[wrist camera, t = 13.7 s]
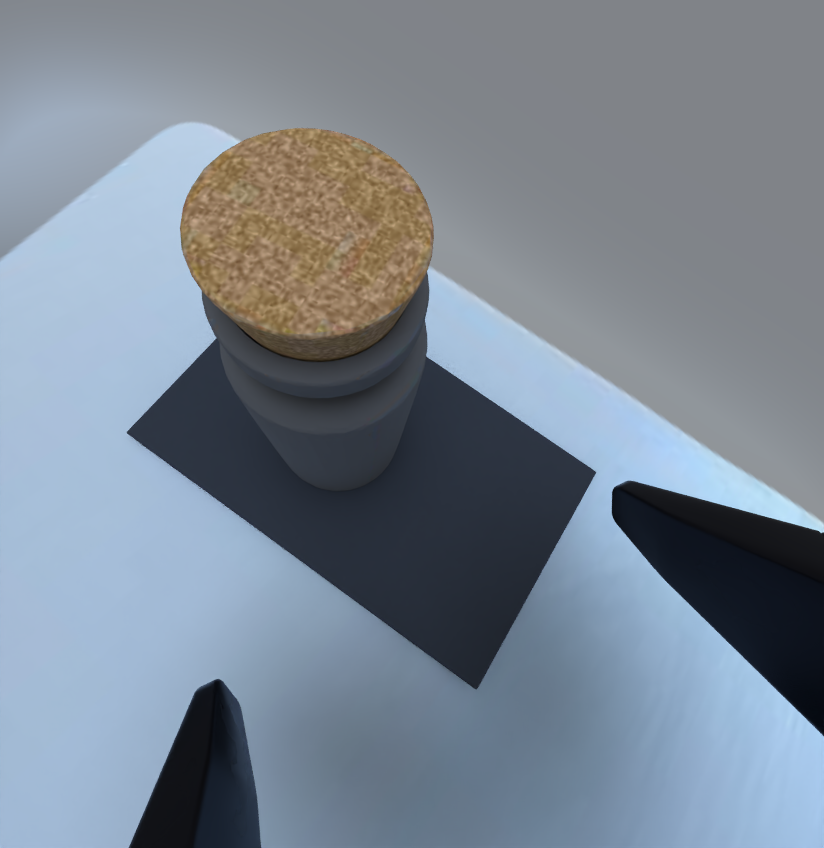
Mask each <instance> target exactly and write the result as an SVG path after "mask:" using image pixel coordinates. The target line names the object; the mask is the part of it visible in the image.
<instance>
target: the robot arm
mask: <svg viewBox="0 0 824 848" xmlns="http://www.w3.org/2000/svg"><path fill="white" fill-rule="evenodd" d="M612 516H613V518H614V520H615V522H616V523H617V525H618V526H619V527H620V528H621V530H622V531H623V532H624V533H625V534H626V535H627V537H628V538H629V539H630V540H631V541H632V543H633V544H634V545H635V546H636V547H637V549H638V550H639V551H640V552H641V553H642V555H643V556H644V557H645V558H646V559H647V560H648V562H649V563H650V564H651V565H652V566H653V568H654V569H655V570H656V571H657V572H658V573H659V574H660V575H661V576H662V578H663V579H664V580H665V581H666V582H667V583H668V584H669V585H670V586H671V587H672V588H673V589H674V590H675V591H676V592H677V593H679V594H680V595H681V596H682V597H683V598H684V599H685V600H686V601H687V602H688V603H689V604H690V605H691V606H692V607H693V608H694V609H695V610H696V611H697V612H698V613H699V614H700V615H701V616H702V617H703V618H704V619H705V620H706V621H707V622H708V623H709V624H710V625H711V626H712V627H713V628H714V629H715V630H716V631H717V632H718V633H719V634H720V635H721V636H722V637H723V638H724V639H725V640H726V641H727V642H728V643H729V644H730V645H732V646H733V647H734V648H735V649H736V650H737V651H738V652H739V653H740V654H741V655H742V656H743V657H744V658H745V659H746V660H747V661H748V662H749V663H750V664H751V665H752V666H753V667H754V668H755V669H756V670H757V671H758V672H759V673H760V674H761V675H762V676H763V677H764V678H765V679H766V680H767V681H768V682H769V683H770V684H771V685H772V686H773V687H774V688H775V689H776V690H777V691H778V692H779V693H780V694H781V695H782V696H783V697H785V698H786V699H787V700H788V701H789V702H790V703H791V704H792V705H793V706H794V707H795V708H796V709H797V710H798V711H799V712H800V713H801V714H802V715H803V716H804V717H805V718H806V719H807V720H808V721H809V722H810V723H811V724H812V725H813V726H814V727H815V728H816V729H817V730H818V731H819V732H820V733H821V734H822V735H823V736H824V533H820V532H819V531H817V530H813V529H809V528H805V527H802V526H798V525H794V524H791V523H787V522H783V521H779V520H776V519H772V518H768V517H765V516H761V515H757V514H753V513H750V512H746V511H742V510H739V509H735V508H731V507H727V506H724V505H720V504H716V503H713V502H709V501H705V500H701V499H698V498H694V497H690V496H687V495H683V494H679V493H675V492H672V491H668V490H664V489H661V488H657V487H653V486H649V485H646V484H642V483H638V482H635V481H626V482H624V483H622V484H620V485H618V486H616V487H614V489H613V491H612ZM129 848H261V842H260V828H259V814H258V803H257V795H256V788H255V782H254V777H253V771H252V766H251V760H250V755H249V749H248V744H247V738H246V733H245V727H244V722H243V716H242V711H241V707H240V705H239V702H238V701H237V699H236V698H235V696H234V695H233V694H232V693H231V691H230V690H229V689H228V688H227V686H226V685H225V684H224V682H223V681H222V680H220V679H216V680H214V681H212V682H210V683H207V684H205V685H203V686H201V687H200V688H198V689H197V690H196V692H195V693H194V696H193V698H192V700H191V703H190V705H189V707H188V710H187V712H186V714H185V717H184V719H183V721H182V724H181V726H180V729H179V731H178V733H177V736H176V738H175V740H174V743H173V745H172V747H171V750H170V752H169V754H168V757H167V759H166V762H165V764H164V766H163V769H162V771H161V773H160V776H159V778H158V780H157V783H156V785H155V787H154V790H153V792H152V795H151V797H150V799H149V802H148V804H147V806H146V809H145V811H144V813H143V816H142V818H141V820H140V823H139V825H138V827H137V830H136V832H135V835H134V837H133V839H132V842H131V844H130V846H129Z"/></svg>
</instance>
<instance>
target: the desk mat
mask: <svg viewBox="0 0 824 848" xmlns="http://www.w3.org/2000/svg"><path fill="white" fill-rule="evenodd" d="M127 434H129V435H130V436H132V437H133V438H134V439H136V440H137V441H138V442H140V443H141V444H142V445H144V446H145V447H146V448H148V449H149V450H151V451H152V452H153V453H155V454H156V455H157V456H159V457H160V458H161V459H163V460H164V461H166V462H167V463H168V464H170V465H171V466H172V467H174V468H175V469H176V470H178V471H179V472H181V473H182V474H183V475H185V476H186V477H187V478H189V479H190V480H191V481H193V482H194V483H196V484H197V485H198V486H200V487H201V488H202V489H204V490H205V491H206V492H208V493H209V494H211V495H212V496H213V497H215V498H216V499H217V500H219V501H220V502H221V503H223V504H224V505H226V506H227V507H228V508H230V509H231V510H232V511H234V512H235V513H236V514H238V515H239V516H240V517H242V518H243V519H245V520H246V521H247V522H249V523H250V524H251V525H253V526H254V527H255V528H257V529H258V530H260V531H261V532H262V533H264V534H265V535H266V536H268V537H269V538H270V539H272V540H273V541H275V542H276V543H277V544H279V545H280V546H281V547H283V548H284V549H285V550H287V551H288V552H290V553H291V554H292V555H294V556H295V557H296V558H298V559H299V560H300V561H302V562H303V563H305V564H306V565H307V566H309V567H310V568H311V569H313V570H314V571H315V572H317V573H318V574H320V575H321V576H322V577H324V578H325V579H326V580H328V581H329V582H330V583H332V584H333V585H334V586H336V587H337V588H339V589H340V590H341V591H343V592H344V593H345V594H347V595H348V596H349V597H351V598H352V599H354V600H355V601H356V602H358V603H359V604H360V605H362V606H363V607H364V608H366V609H367V610H369V611H370V612H371V613H373V614H374V615H375V616H377V617H378V618H379V619H381V620H382V621H384V622H385V623H386V624H388V625H389V626H390V627H392V628H393V629H394V630H396V631H397V632H399V633H400V634H401V635H403V636H404V637H405V638H407V639H408V640H409V641H411V642H412V643H414V644H415V645H416V646H418V647H419V648H420V649H422V650H423V651H424V652H426V653H427V654H428V655H430V656H431V657H433V658H434V659H435V660H437V661H438V662H439V663H441V664H442V665H443V666H445V667H446V668H448V669H449V670H450V671H452V672H453V673H454V674H456V675H457V676H458V677H460V678H461V679H463V680H464V681H465V682H467V683H468V684H469V685H471V686H472V687H473V688H475V689H477V688H478V686H479V684H480V683H481V681H482V679H483V677H484V675H485V674H486V672H487V670H488V668H489V666H490V664H491V663H492V661H493V659H494V657H495V655H496V654H497V652H498V650H499V648H500V646H501V644H502V643H503V641H504V639H505V637H506V635H507V634H508V632H509V630H510V628H511V626H512V624H513V623H514V621H515V619H516V617H517V615H518V614H519V612H520V610H521V608H522V606H523V604H524V603H525V601H526V599H527V597H528V595H529V594H530V592H531V590H532V588H533V586H534V584H535V583H536V581H537V579H538V577H539V575H540V574H541V572H542V570H543V568H544V566H545V564H546V563H547V561H548V559H549V557H550V555H551V554H552V552H553V550H554V548H555V546H556V544H557V543H558V541H559V539H560V537H561V535H562V534H563V532H564V530H565V528H566V526H567V524H568V523H569V521H570V519H571V517H572V515H573V514H574V512H575V510H576V508H577V506H578V504H579V503H580V501H581V499H582V497H583V495H584V494H585V492H586V490H587V488H588V486H589V484H590V483H591V481H592V479H593V477H594V475H595V474H596V471H594V470H593V469H591V468H590V467H588V466H587V465H585V464H584V463H582V462H581V461H579V460H578V459H576V458H575V457H573V456H572V455H570V454H569V453H567V452H566V451H565V450H563V449H562V448H560V447H559V446H557V445H556V444H554V443H553V442H551V441H550V440H548V439H547V438H545V437H544V436H542V435H541V434H539V433H538V432H537V431H535V430H534V429H532V428H531V427H529V426H528V425H526V424H525V423H523V422H522V421H520V420H519V419H517V418H516V417H514V416H513V415H511V414H510V413H509V412H507V411H506V410H504V409H503V408H501V407H500V406H498V405H497V404H495V403H494V402H492V401H491V400H489V399H488V398H486V397H485V396H483V395H482V394H481V393H479V392H478V391H476V390H475V389H473V388H472V387H470V386H469V385H467V384H466V383H464V382H463V381H461V380H460V379H458V378H457V377H455V376H454V375H453V374H451V373H450V372H448V371H447V370H445V369H444V368H442V367H441V366H439V365H438V364H436V363H435V362H433V361H432V360H430V359H429V358H427V357H426V359H425V366H424V370H423V373H422V376H421V380H420V383H419V386H418V389H417V393H416V396H415V398H414V401H413V404H412V407H411V410H410V413H409V415H408V418H407V421H406V424H405V427H404V430H403V433H402V435H401V438H400V441H399V444H398V446H397V449H396V451H395V454H394V456H393V458H392V460H391V462H390V463H389V465H388V466H387V467H386V468H385V470H384V471H383V472H382V473H381V474H380V475H379V476H378V477H377V478H376V479H374V480H373V481H371V482H369V483H368V484H366V485H364V486H361V487H359V488H356V489H352V490H345V491H331V490H324V489H321V488H317V487H315V486H313V485H311V484H309V483H307V482H305V481H304V480H302V479H301V478H300V477H299V476H298V475H297V474H295V473H294V472H293V471H292V469H291V468H290V467H289V466H288V464H287V463H286V462H285V461H284V459H283V458H282V457H281V456H280V454H279V453H278V452H277V450H276V449H275V447H274V446H273V445H272V443H271V442H270V441H269V439H268V438H267V437H266V435H265V434H264V432H263V431H262V430H261V428H260V427H259V426H258V424H257V423H256V421H255V420H254V419H253V417H252V416H251V414H250V413H249V411H248V410H247V409H246V407H245V406H244V404H243V403H242V401H241V400H240V398H239V397H238V395H237V394H236V392H235V391H234V389H233V387H232V385H231V383H230V381H229V379H228V377H227V376H226V373H225V370H224V366H223V363H222V359H221V354H220V343H219V341H218V339H216V340H215V341H214V342H213V343H212V344H211V345H210V346H209V347H208V348H207V349H206V350H205V351H204V352H203V353H202V354H201V355H200V356H199V357H198V358H197V359H196V360H195V362H194V363H193V364H192V365H191V366H190V367H189V368H188V369H187V370H186V371H185V372H184V373H183V374H182V375H181V376H180V377H179V378H178V379H177V380H176V381H175V382H174V383H173V384H172V386H171V387H170V388H169V389H168V390H167V391H166V392H165V393H164V394H163V395H162V396H161V397H160V398H159V399H158V400H157V401H156V402H155V403H154V404H153V405H152V406H151V407H150V408H149V410H148V411H147V412H146V413H145V414H144V415H143V416H142V417H141V418H140V419H139V420H138V421H137V422H136V423H135V424H134V425H133V426H132V427H131V428H130V429H129V430H128V431H127Z"/></svg>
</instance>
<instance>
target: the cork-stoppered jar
mask: <svg viewBox="0 0 824 848" xmlns="http://www.w3.org/2000/svg"><path fill="white" fill-rule="evenodd" d="M180 232H181V245H182V251H183V255H184V258H185V260H186V262H187V265H188V267H189V269H190V272H191V275H192V277H193V278H194V280H195V281H196V283H197V284H198V285H199V287H200V288H201V290H202V301H203V305H204V309H205V314H206V316H207V319H208V321H209V324H210V326H211V328H212V330H213V332H214V334H215V336H216V338H217V339H218V341H219V343H220V354H221V359H222V363H223V366H224V370H225V373H226V376H227V377H228V379H229V381H230V383H231V385H232V387H233V389H234V391H235V392H236V394H237V395H238V397H239V398H240V400H241V401H242V403H243V404H244V406H245V407H246V409H247V410H248V411H249V413H250V414H251V416H252V417H253V419H254V420H255V421H256V423H257V424H258V426H259V427H260V428H261V430H262V431H263V432H264V434H265V435H266V437H267V438H268V439H269V441H270V442H271V443H272V445H273V446H274V447H275V449H276V450H277V452H278V453H279V454H280V456H281V457H282V458H283V459H284V461H285V462H286V463H287V464H288V466H289V467H290V468H291V469H292V471H293V472H294V473H295V474H297V475H298V476H299V477H300V478H301V479H302V480H304V481H305V482H307V483H309V484H311V485H313V486H315V487H317V488H321V489H324V490H331V491H345V490H352V489H356V488H359V487H361V486H364V485H366V484H368V483H369V482H371V481H373V480H374V479H376V478H377V477H378V476H379V475H380V474H381V473H382V472H383V471H384V470H385V468H386V467H387V466H388V465H389V463H390V462H391V460H392V458H393V456H394V454H395V451H396V449H397V446H398V444H399V441H400V438H401V435H402V433H403V430H404V427H405V424H406V421H407V418H408V415H409V413H410V410H411V407H412V404H413V401H414V398H415V396H416V393H417V389H418V386H419V383H420V380H421V376H422V373H423V370H424V366H425V359H426V353H427V331H426V325H425V316H426V312H427V307H428V301H429V283H428V274H427V270H428V267H429V264H430V260H431V257H432V249H433V239H434V235H433V223H432V217H431V214H430V211H429V208H428V205H427V202H426V200H425V198H424V196H423V194H422V192H421V190H420V188H419V186H418V185H417V183H416V182H415V181H414V179H413V178H412V177H411V176H410V174H409V173H408V172H407V171H406V170H405V169H404V168H403V167H402V166H401V165H400V164H399V163H398V162H397V161H396V160H394V159H393V158H391V157H390V156H388V155H387V154H386V153H384V152H383V151H381V150H379V149H378V148H376V147H375V146H373V145H371V144H369V143H367V142H365V141H363V140H360V139H357V138H354V137H352V136H349V135H346V134H342V133H338V132H334V131H329V130H320V129H304V128H295V129H286V130H280V131H275V132H269V133H263V134H260V135H258V136H255V137H252V138H249V139H246V140H244V141H242V142H240V143H238V144H237V145H235V146H233V147H231V148H230V149H228V150H226V151H224V152H223V153H222V154H220V155H219V156H218V157H217V158H216V159H215V160H214V161H212V162H211V163H210V164H209V165H208V166H207V167H206V168H205V169H204V170H203V171H202V173H201V174H200V176H199V177H198V179H197V180H196V181H195V183H194V184H193V186H192V188H191V190H190V191H189V193H188V195H187V198H186V201H185V204H184V207H183V212H182V219H181V226H180Z"/></svg>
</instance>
